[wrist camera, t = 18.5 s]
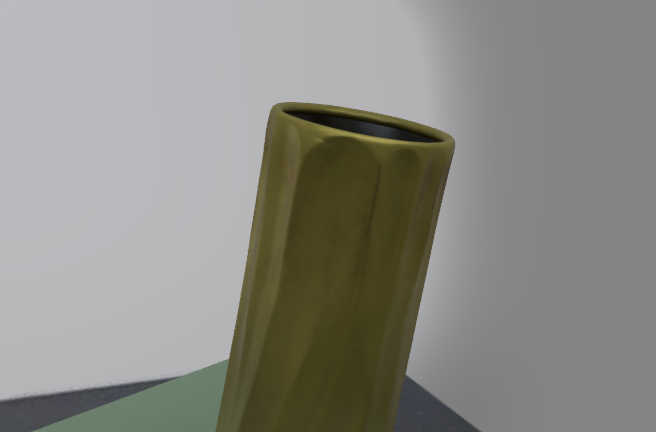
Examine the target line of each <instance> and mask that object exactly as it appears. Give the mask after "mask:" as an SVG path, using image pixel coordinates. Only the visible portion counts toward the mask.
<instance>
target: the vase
mask: <svg viewBox="0 0 656 432" xmlns="http://www.w3.org/2000/svg"><path fill="white" fill-rule="evenodd" d="M454 149H455V141H454V139H453V138H452V136H450V135H449V134H447V133H445V132H442V131H440V130H437V129H435V128H432V127H429V126H426V125H422V124H419V123H416V122H412V121H408V120H405V119H401V118H397V117H392V116H388V115H383V114H378V113H373V112H368V111H363V110H357V109H350V108H345V107H339V106H332V105H323V104H313V103H299V102H298V103H297V102H285V103H278V104H276V105H274V106H273V107H272V109H271V111H270V115H269V119H268V123H267V128H266V136H265V144H264V152H263V159H262V166H261V172H260V178H259V184H258V191H257V197H256V205H255V211H254V216H253V222H252V229H251V235H250V243H249V250H248V256H247V262H246V268H245V274H244V280H243V286H242V292H241V298H240V303H239V309H238V314H237V320H236V326H235V330H234V336H233V341H232V347H231V352H230V357H229V363H228V368H227V374H226V379H225V384H224V389H223V394H222V400H221V405H220V410H219V415H218V420H217V426H216V431H215V432H393V429H394V424H395V419H396V414H397V409H398V405H399V400H400V396H401V391H402V387H403V383H404V378H405V373H406V369H407V364H408V359H409V354H410V350H411V345H412V340H413V335H414V331H415V326H416V321H417V316H418V311H419V307H420V302H421V297H422V292H423V288H424V283H425V278H426V273H427V268H428V264H429V259H430V254H431V249H432V244H433V239H434V234H435V230H436V225H437V221H438V216H439V212H440V207H441V203H442V199H443V194H444V190H445V186H446V182H447V178H448V173H449V169H450V165H451V161H452V157H453V154H454Z"/></svg>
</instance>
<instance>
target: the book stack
mask: <svg viewBox="0 0 656 432" xmlns="http://www.w3.org/2000/svg"><path fill="white" fill-rule="evenodd" d="M228 363H229V359H228V360H225V361H222V362H219V363H217V364H214V365H211V366H209V367H206V368H203V369H201V370H198V371H195V372H192V373H190V374H187V375H184V376H182V377H179V378H176V379H173V380H171V381H168V382H165V383H163V384H160V385H157V386H154V387H152V388H149V389H146V390H144V391H141V392H138V393H136V394H133V395H130V396H127V397H125V398H122V399H119V400H117V401H114V402H111V403H108V404H106V405H103V406H100V407H98V408H95V409H92V410H89V411H87V412H84V413H81V414H79V415H76V416H73V417H70V418H68V419H65V420H62V421H60V422H57V423H54V424H52V425H49V426H46V427H43V428H41V429H38V430H35V431H33V432H215V431H216V426H217V420H218V415H219V410H220V405H221V400H222V394H223V389H224V384H225V379H226V374H227V368H228Z"/></svg>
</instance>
